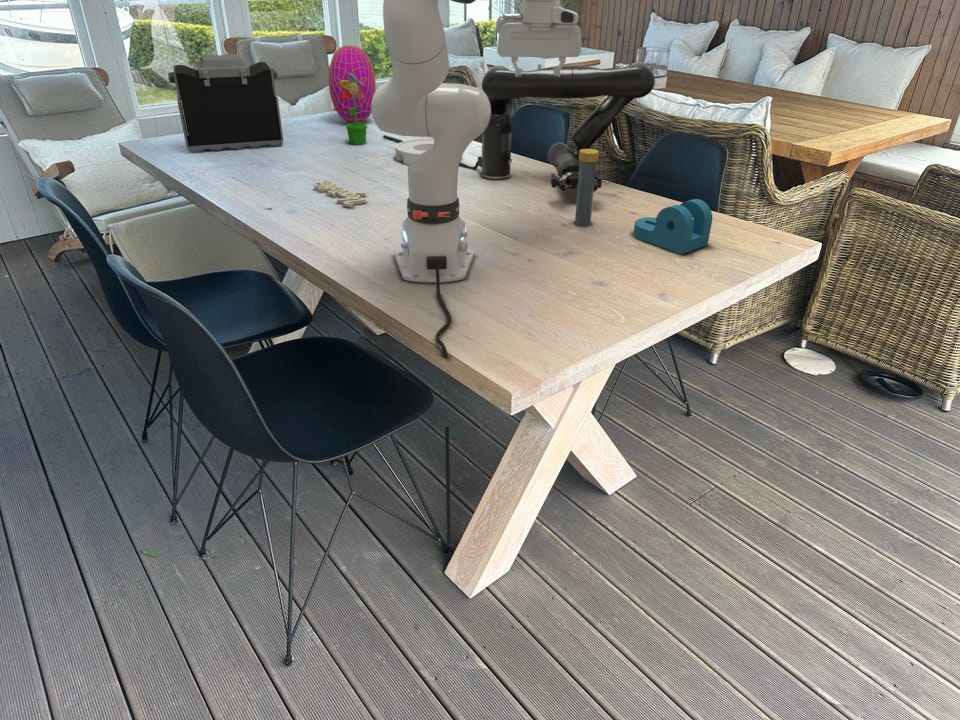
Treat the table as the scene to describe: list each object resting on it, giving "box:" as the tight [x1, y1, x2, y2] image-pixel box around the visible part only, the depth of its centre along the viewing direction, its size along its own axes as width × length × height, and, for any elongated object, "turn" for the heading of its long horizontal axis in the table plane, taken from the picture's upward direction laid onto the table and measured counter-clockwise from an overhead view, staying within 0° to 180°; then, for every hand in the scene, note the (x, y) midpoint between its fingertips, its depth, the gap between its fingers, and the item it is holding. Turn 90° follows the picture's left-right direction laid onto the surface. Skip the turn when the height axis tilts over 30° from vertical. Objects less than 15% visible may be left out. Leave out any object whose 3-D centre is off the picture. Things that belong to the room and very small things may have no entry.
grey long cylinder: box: [574, 161, 597, 227], centre depth 181 cm, size 4×4×19 cm
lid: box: [579, 148, 600, 163], centre depth 177 cm, size 5×5×2 cm
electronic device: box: [167, 53, 284, 153], centre depth 252 cm, size 37×22×30 cm, turn 111°
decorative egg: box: [328, 44, 377, 124], centre depth 286 cm, size 19×19×30 cm
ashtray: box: [394, 138, 434, 166], centre depth 243 cm, size 23×23×4 cm
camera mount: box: [632, 198, 713, 255], centre depth 173 cm, size 18×10×10 cm, turn 39°
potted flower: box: [339, 73, 368, 145], centre depth 255 cm, size 9×8×25 cm
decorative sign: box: [313, 179, 366, 209], centre depth 205 cm, size 26×1×10 cm
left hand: (537, 76), depth 169 cm, fingers open, 8 cm apart
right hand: (579, 188), depth 191 cm, fingers open, 8 cm apart
